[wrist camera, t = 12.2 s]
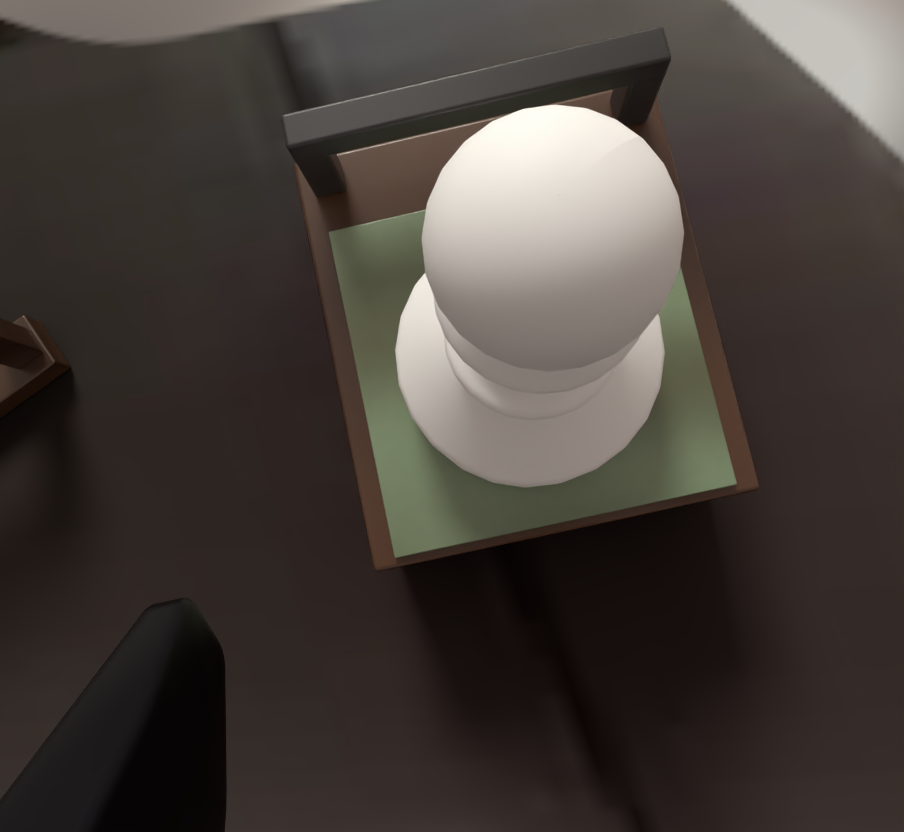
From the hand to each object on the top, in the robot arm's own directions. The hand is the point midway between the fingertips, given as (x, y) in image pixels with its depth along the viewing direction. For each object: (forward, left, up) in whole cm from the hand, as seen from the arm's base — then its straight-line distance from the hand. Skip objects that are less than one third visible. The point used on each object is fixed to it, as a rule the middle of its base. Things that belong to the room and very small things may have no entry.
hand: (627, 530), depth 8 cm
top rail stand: (+4, +2, -12) cm, 13 cm away
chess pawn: (+3, +2, -8) cm, 9 cm away
